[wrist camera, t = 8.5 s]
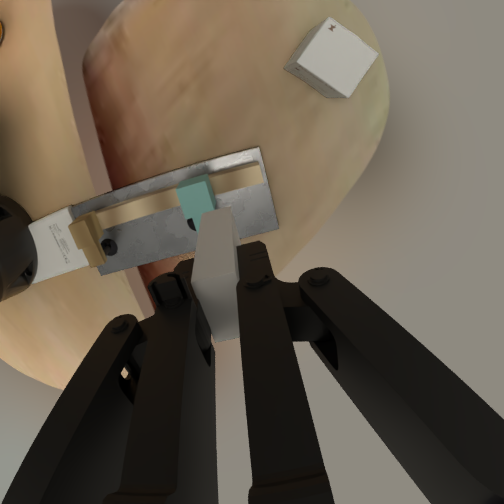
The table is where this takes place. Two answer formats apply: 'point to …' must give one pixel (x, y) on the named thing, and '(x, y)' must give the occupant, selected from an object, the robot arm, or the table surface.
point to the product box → (331, 59)
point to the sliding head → (196, 198)
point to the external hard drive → (56, 245)
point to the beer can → (1, 31)
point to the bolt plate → (179, 214)
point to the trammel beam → (149, 209)
